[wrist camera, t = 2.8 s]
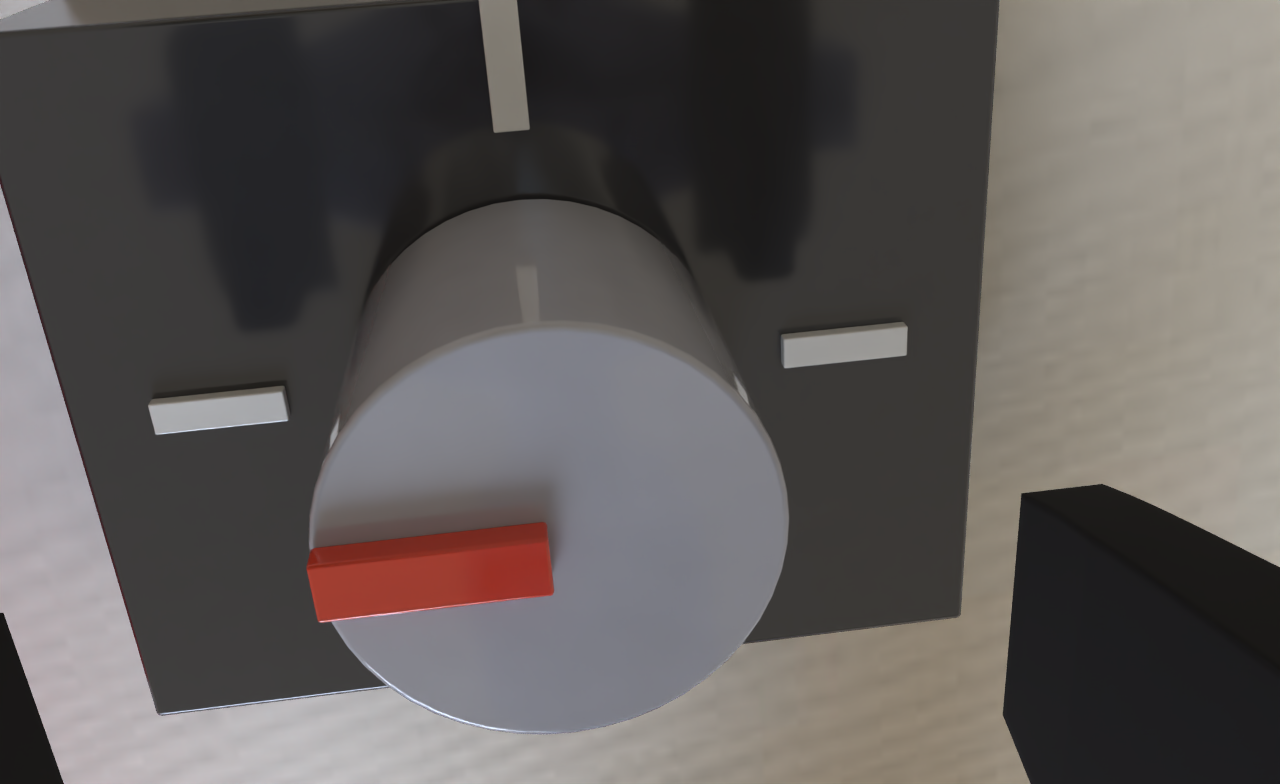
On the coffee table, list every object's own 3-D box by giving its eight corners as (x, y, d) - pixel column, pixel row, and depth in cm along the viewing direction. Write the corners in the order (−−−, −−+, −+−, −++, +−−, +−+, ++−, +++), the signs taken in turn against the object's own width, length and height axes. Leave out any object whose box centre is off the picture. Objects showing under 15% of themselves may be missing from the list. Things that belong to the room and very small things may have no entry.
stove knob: (713, 179, 12) (799, 313, 9) (725, 512, 14) (801, 731, 11) (320, 217, 12) (255, 367, 9) (381, 552, 14) (347, 788, 10)
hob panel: (908, -80, 15) (1011, -57, 12) (890, 506, 18) (966, 633, 15) (54, -15, 14) (-58, 27, 11) (209, 585, 17) (154, 734, 14)
